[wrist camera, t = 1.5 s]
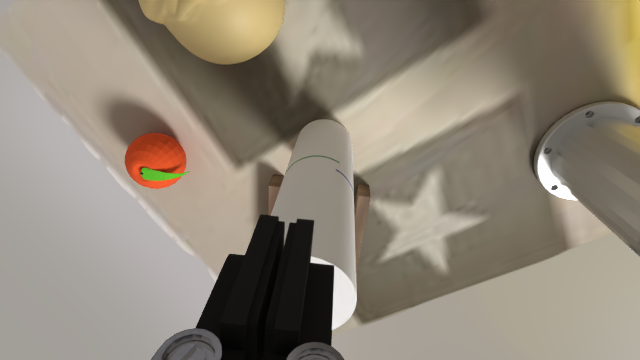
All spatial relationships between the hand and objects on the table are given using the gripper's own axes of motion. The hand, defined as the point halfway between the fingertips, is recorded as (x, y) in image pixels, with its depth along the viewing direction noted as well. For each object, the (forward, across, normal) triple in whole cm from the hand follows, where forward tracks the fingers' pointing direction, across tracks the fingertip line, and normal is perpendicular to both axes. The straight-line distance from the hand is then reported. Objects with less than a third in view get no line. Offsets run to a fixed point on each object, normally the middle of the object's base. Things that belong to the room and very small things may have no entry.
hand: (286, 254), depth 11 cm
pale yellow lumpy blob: (+33, +11, -6) cm, 35 cm away
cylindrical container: (+33, 0, +10) cm, 34 cm away
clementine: (+33, +20, +13) cm, 40 cm away
